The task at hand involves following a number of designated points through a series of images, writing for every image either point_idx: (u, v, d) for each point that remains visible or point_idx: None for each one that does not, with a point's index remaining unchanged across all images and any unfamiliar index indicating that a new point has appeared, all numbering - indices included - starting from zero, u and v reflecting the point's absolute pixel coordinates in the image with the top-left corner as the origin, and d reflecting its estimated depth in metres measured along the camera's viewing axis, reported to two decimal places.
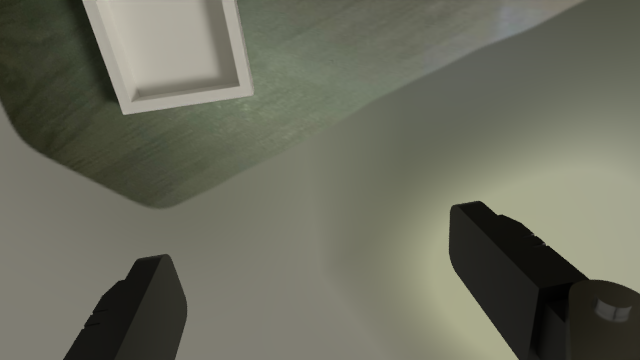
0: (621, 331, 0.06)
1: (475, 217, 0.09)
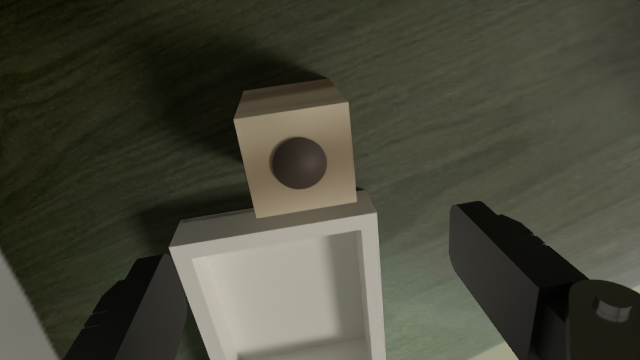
0: (621, 331, 0.06)
1: (475, 217, 0.09)
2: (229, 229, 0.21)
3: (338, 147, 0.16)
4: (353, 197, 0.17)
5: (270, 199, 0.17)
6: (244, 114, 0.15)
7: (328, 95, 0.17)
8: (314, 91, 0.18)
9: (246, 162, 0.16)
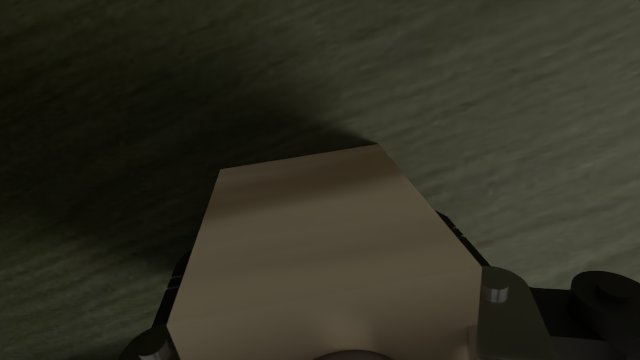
0: (493, 310, 0.06)
1: None
2: None
3: None
4: None
5: None
6: (202, 293, 0.06)
7: (406, 217, 0.07)
8: (365, 192, 0.08)
9: None
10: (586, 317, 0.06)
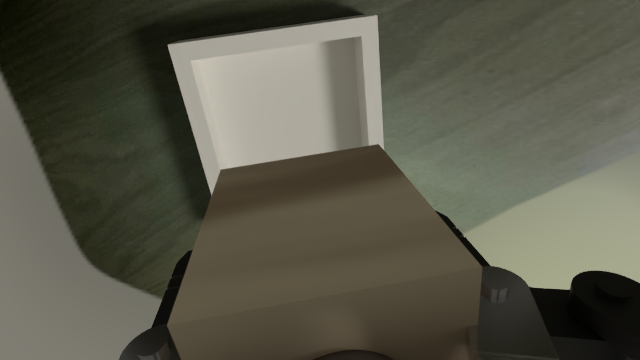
0: (493, 310, 0.06)
1: None
2: (228, 35, 0.21)
3: None
4: None
5: None
6: (202, 293, 0.06)
7: (406, 217, 0.07)
8: (365, 193, 0.08)
9: None
10: (586, 317, 0.06)
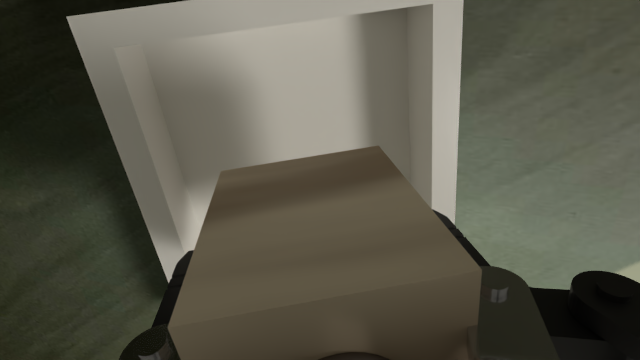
0: (493, 310, 0.06)
1: None
2: None
3: None
4: None
5: None
6: (202, 295, 0.06)
7: (406, 219, 0.07)
8: (365, 194, 0.08)
9: None
10: (586, 317, 0.06)
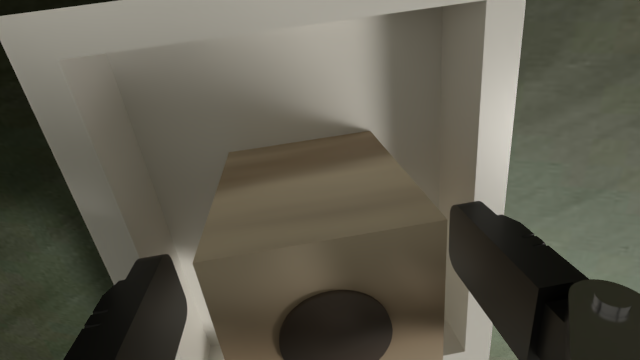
0: (621, 331, 0.06)
1: (475, 217, 0.09)
2: None
3: (417, 302, 0.08)
4: None
5: None
6: (219, 241, 0.07)
7: (389, 186, 0.08)
8: (356, 168, 0.09)
9: (224, 338, 0.07)
10: None
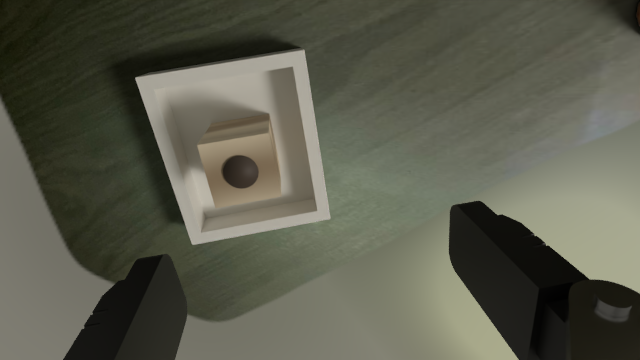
0: (621, 331, 0.06)
1: (475, 217, 0.09)
2: (185, 68, 0.26)
3: (265, 161, 0.25)
4: (278, 193, 0.26)
5: (223, 195, 0.26)
6: (204, 141, 0.25)
7: (260, 127, 0.26)
8: (254, 124, 0.27)
9: (206, 171, 0.25)
10: None
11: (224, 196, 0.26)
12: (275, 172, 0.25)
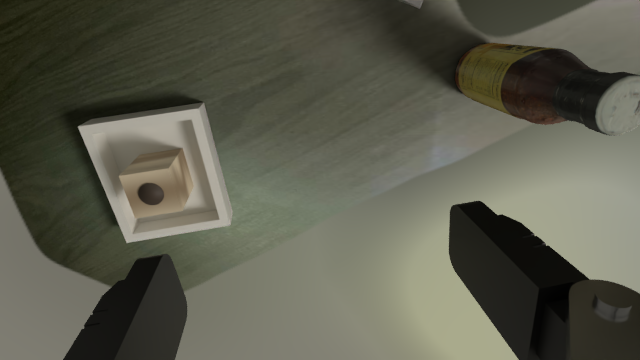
0: (621, 331, 0.06)
1: (475, 217, 0.09)
2: (115, 119, 0.37)
3: (168, 186, 0.36)
4: (180, 208, 0.37)
5: (140, 209, 0.37)
6: (125, 173, 0.35)
7: (167, 162, 0.37)
8: (165, 159, 0.38)
9: (126, 193, 0.36)
10: None
11: (140, 210, 0.37)
12: (176, 194, 0.36)
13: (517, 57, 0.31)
